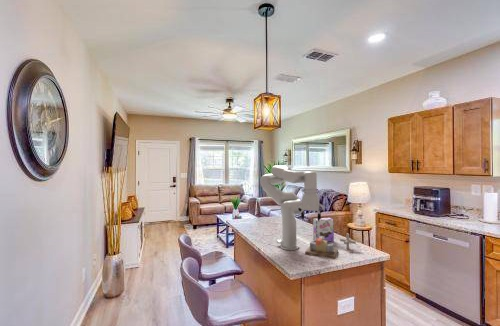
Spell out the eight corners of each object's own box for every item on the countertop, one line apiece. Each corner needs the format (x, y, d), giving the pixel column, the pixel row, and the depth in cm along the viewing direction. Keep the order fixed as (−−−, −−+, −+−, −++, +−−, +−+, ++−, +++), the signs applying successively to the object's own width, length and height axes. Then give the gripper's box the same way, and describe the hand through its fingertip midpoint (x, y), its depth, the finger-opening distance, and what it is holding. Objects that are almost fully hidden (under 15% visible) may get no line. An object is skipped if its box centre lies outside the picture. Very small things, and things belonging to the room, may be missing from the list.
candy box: (316, 242, 183) (316, 219, 183) (313, 240, 189) (312, 218, 189) (334, 241, 186) (333, 219, 186) (330, 239, 191) (329, 217, 192)
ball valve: (309, 251, 162) (309, 239, 162) (311, 248, 167) (311, 237, 167) (332, 254, 156) (332, 242, 156) (333, 251, 161) (333, 239, 161)
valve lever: (319, 239, 164) (319, 235, 164) (324, 239, 162) (324, 235, 162) (315, 244, 152) (315, 240, 152) (320, 245, 150) (320, 241, 151)
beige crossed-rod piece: (343, 245, 176) (342, 231, 177) (357, 248, 170) (357, 233, 170) (337, 249, 169) (337, 234, 169) (353, 252, 162) (353, 236, 162)
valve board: (305, 254, 160) (305, 251, 160) (310, 248, 171) (310, 245, 171) (335, 258, 152) (335, 256, 152) (338, 252, 163) (338, 249, 163)
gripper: (295, 191, 157) (295, 219, 156) (323, 192, 149) (324, 222, 149) (298, 190, 163) (298, 217, 163) (326, 191, 156) (326, 219, 156)
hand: (310, 219), depth 156 cm, fingers open, 9 cm apart
